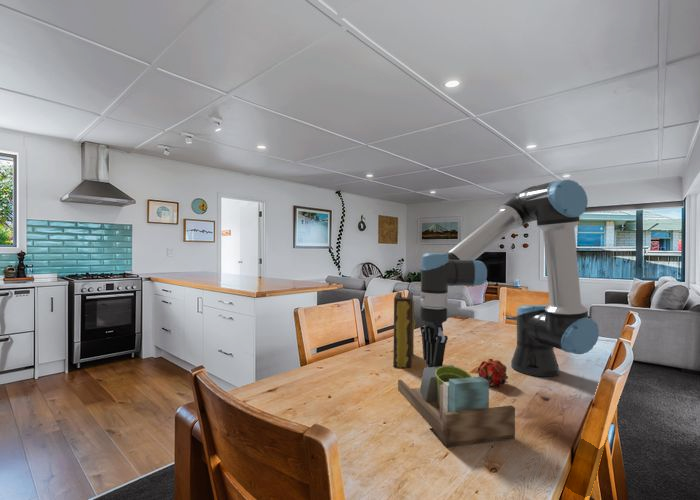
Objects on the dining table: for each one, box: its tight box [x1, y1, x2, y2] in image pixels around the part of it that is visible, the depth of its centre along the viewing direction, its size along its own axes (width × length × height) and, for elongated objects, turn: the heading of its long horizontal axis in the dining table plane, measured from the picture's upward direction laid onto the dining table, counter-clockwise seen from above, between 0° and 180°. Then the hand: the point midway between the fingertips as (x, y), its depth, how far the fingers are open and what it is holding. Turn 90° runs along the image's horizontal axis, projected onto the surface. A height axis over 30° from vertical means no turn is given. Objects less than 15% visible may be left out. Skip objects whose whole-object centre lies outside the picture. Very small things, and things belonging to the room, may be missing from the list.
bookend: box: [419, 364, 455, 401], centre depth 98 cm, size 9×4×8 cm, turn 105°
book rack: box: [397, 376, 516, 448], centre depth 91 cm, size 17×29×13 cm, turn 13°
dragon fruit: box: [477, 358, 509, 388], centre depth 111 cm, size 8×8×12 cm
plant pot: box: [435, 365, 473, 406], centre depth 91 cm, size 9×9×9 cm
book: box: [392, 291, 416, 369], centre depth 136 cm, size 22×8×25 cm, turn 168°
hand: (432, 388), depth 102 cm, fingers closed
